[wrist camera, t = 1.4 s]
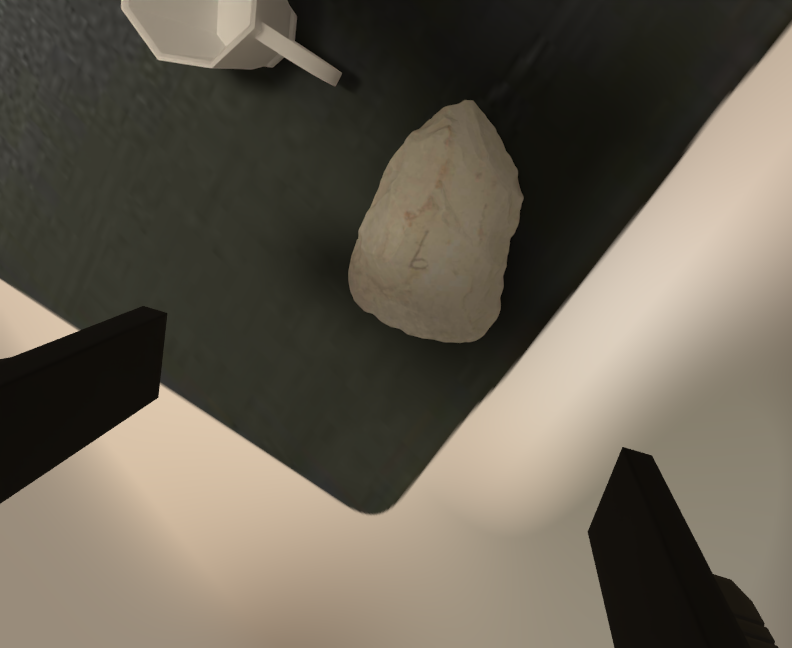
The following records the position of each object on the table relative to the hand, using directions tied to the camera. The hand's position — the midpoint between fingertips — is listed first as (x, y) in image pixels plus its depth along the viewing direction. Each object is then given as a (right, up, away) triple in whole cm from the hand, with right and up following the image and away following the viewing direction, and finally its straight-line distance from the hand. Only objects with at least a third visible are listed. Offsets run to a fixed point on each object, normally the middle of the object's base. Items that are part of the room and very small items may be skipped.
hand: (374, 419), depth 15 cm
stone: (+4, +9, +18) cm, 20 cm away
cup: (-6, +19, +17) cm, 26 cm away
